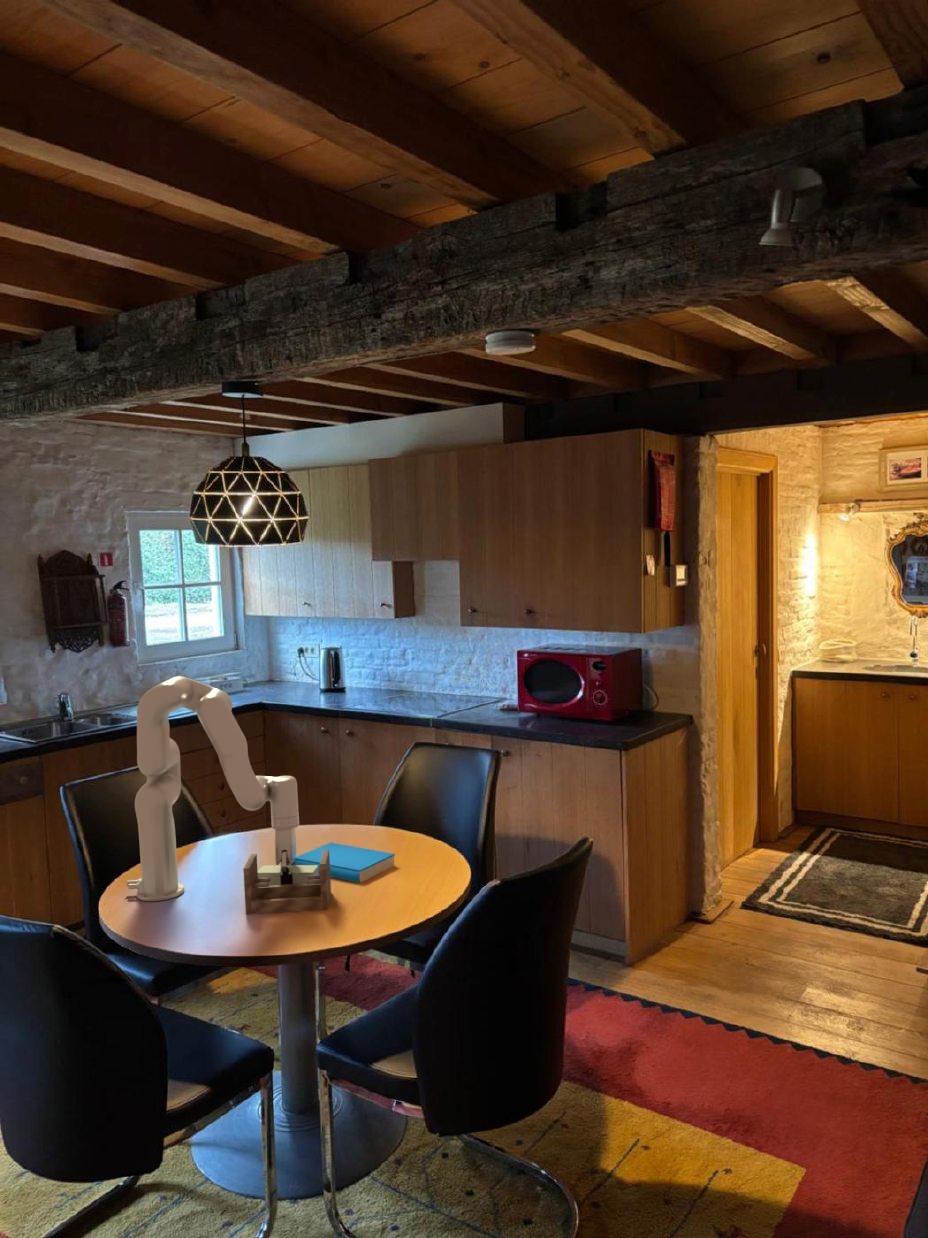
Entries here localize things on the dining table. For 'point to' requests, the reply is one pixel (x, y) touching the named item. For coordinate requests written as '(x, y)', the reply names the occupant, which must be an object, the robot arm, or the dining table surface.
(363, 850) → the book
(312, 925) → the dining table surface
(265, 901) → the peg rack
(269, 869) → the pale green block
